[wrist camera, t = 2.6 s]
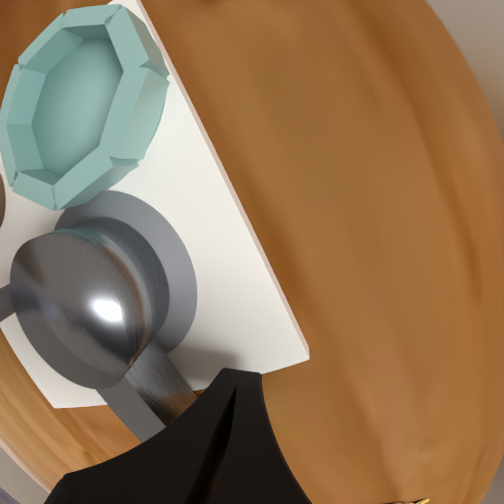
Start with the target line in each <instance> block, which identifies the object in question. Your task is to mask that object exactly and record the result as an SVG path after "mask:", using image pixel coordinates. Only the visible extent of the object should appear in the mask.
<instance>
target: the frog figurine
mask: <svg viewBox="0 0 504 504" xmlns="http://www.w3.org/2000/svg"><path fill="white" fill-rule="evenodd" d="M429 500H430V499H428V498H427V499H424V500H420V501H419V502H417V503H412V502H405V503H403V502H397V503H393V504H425V503H426V502H428V501H429Z"/></svg>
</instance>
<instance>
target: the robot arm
mask: <svg viewBox="0 0 504 504" xmlns="http://www.w3.org/2000/svg"><path fill="white" fill-rule="evenodd" d="M0 504H20V503H19V502H17V501H16V500H15V499H14V498H12V497H11V496H10V495H9V494H8V493H6V492H5V491H4V490H3V489H2V488H1V487H0ZM44 504H312V503H311V501H310V500H309V499H308V497H307V496H306V494H305V493H304V491H303V490H302V488H301V487H300V485H299V483H298V482H297V480H296V479H295V477H294V476H293V474H292V472H291V470H290V468H289V466H288V465H287V463H286V461H285V459H284V456H283V454H282V452H281V450H280V448H279V445H278V443H277V441H276V438H275V435H274V433H273V430H272V427H271V424H270V421H269V417H268V414H267V410H266V406H265V402H264V396H263V390H262V375H261V374H260V373H259V372H252V371H244V370H237V369H231V368H223V369H221V370H220V372H219V373H218V375H217V376H216V377H215V379H214V380H213V381H212V382H211V384H210V385H209V386H208V387H207V388H206V390H205V391H204V392H203V393H202V394H201V395H200V396H199V397H198V398H197V399H196V400H195V401H194V402H193V403H192V404H191V405H190V406H189V407H188V408H187V409H186V410H185V411H184V412H183V413H182V414H181V415H180V416H178V417H177V418H176V419H175V420H174V421H173V422H171V423H170V424H169V425H168V426H166V427H165V428H164V429H162V430H161V431H160V432H158V433H157V434H155V435H154V436H152V437H151V438H149V439H148V440H146V441H145V442H143V443H141V444H140V445H138V446H136V447H134V448H133V449H131V450H129V451H127V452H125V453H123V454H121V455H118V456H116V457H114V458H112V459H110V460H107V461H105V462H103V463H100V464H97V465H94V466H91V467H88V468H85V469H82V470H78V471H75V472H71V473H67V474H65V475H64V476H63V478H62V479H61V480H60V481H59V482H58V483H57V484H56V486H55V487H54V489H53V490H52V492H51V493H50V495H49V496H48V498H47V500H46V501H45V502H44Z"/></svg>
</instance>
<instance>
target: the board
mask: <svg viewBox="0 0 504 504" xmlns="http://www.w3.org/2000/svg"><path fill="white" fill-rule="evenodd" d="M111 4H121V5H122V6H123V7H124V6H125V7H126V8H128V9H129V10H130V11H131V12H132V13H134V14H135V15H136V16H137V17H138V18H139V19H141V20H142V21H143V22H144V23H145V24H146V26H147V28H148V30H149V32H150V34H151V36H152V38H153V40H154V41H155V42H156V44H157V45H158V47H159V48H160V50H161V53H162V55H163V58H164V62H165V65H166V67H167V69H168V71H169V73H170V75H168V76H167V80H168V81H169V82H170V84H169V86H168V89H167V91H166V99H165V105H164V110H163V113H162V116H161V120H160V123H159V125H158V128H157V130H156V133H155V135H154V137H153V139H152V141H151V143H150V145H149V147H148V148H147V150H146V153H145V157H144V159H140V160H139V162H138V165H139V166H138V167H137V168H135V169H134V170H132V171H131V172H129V173H128V174H127V175H126V176H125V177H124V178H123V179H122V180H120V181H119V182H118V183H117V184H115V185H114V186H112V187H111V188H109V189H107V190H106V191H102V192H101V193H99V194H98V195H97V196H95V197H94V198H93V199H91V200H90V201H89V202H87V203H86V204H82V205H78V206H74V207H70V208H66V209H62V210H56V211H52V210H50V209H47V208H45V207H43V206H41V205H39V204H37V203H35V202H33V201H31V200H29V199H27V198H25V197H23V196H21V195H18V194H16V193H14V192H12V189H13V187H9V184H8V181H7V177H6V174H5V170H4V166H3V162H2V158H1V154H0V173H1V176H2V179H3V182H4V187H5V196H6V208H5V216H4V220H3V223H2V226H1V227H0V328H1V330H2V332H3V333H4V335H5V337H6V339H7V340H8V342H9V344H10V346H11V347H12V349H13V351H14V352H15V354H16V355H17V357H18V359H19V360H20V362H21V363H22V365H23V366H24V368H25V369H26V371H27V372H28V374H29V375H30V377H31V378H32V379H33V381H34V382H35V384H36V385H37V386H38V388H39V389H40V391H41V392H42V393H43V395H44V396H45V397H46V398H47V400H48V401H49V402H50V404H51V405H52V406H53V407H54V408H70V407H85V406H97V405H107V403H106V402H105V401H104V400H103V398H102V397H101V396H100V395H99V393H98V392H97V391H96V389H90V388H86V387H82V386H80V385H77V384H75V383H73V382H71V381H69V380H67V379H66V378H64V377H63V376H61V375H60V374H59V373H57V372H56V371H55V370H54V369H52V368H51V367H50V366H49V365H48V364H47V363H46V362H45V361H44V360H43V359H42V358H41V357H40V355H39V354H38V353H37V352H36V350H35V349H34V348H33V346H32V345H31V343H30V342H29V340H28V339H27V337H26V335H25V333H24V332H23V330H22V328H21V326H20V323H19V321H18V318H17V316H16V313H15V310H14V306H13V303H12V298H11V291H10V270H11V265H12V261H13V258H14V256H15V254H16V252H17V250H18V249H19V248H20V247H21V245H23V244H24V243H25V242H26V241H28V240H30V239H33V238H35V237H38V236H41V235H44V234H47V233H49V232H52V231H55V230H58V229H61V228H64V227H67V226H70V225H73V224H76V223H79V222H82V221H86V220H89V219H92V218H98V217H106V218H112V219H115V220H118V221H121V222H123V223H125V224H127V225H129V226H130V227H132V228H133V229H135V230H136V231H137V232H138V233H139V234H141V235H142V236H143V237H144V238H145V239H146V241H147V242H148V243H149V244H150V245H151V247H152V248H153V249H154V251H155V252H156V254H157V256H158V257H159V259H160V261H161V263H162V266H163V268H164V270H165V273H166V276H167V280H168V285H169V293H170V305H169V311H168V315H167V318H166V320H165V322H164V324H163V326H162V327H161V329H160V330H159V331H158V333H157V334H156V335H155V337H156V339H157V340H158V342H159V343H160V345H161V347H162V348H163V350H164V351H165V353H166V354H167V356H168V357H169V359H170V360H171V361H172V363H173V364H174V366H175V367H176V369H177V370H178V372H179V373H180V374H181V376H182V377H183V379H184V380H185V381H186V383H187V384H188V385H189V387H190V388H191V390H192V391H196V390H201V389H205V388H207V387H208V386H209V385H210V384H211V382H212V381H213V380H214V379H215V377H216V376H217V375H218V373H219V372H220V370H221V369H223V368H231V369H237V370H244V371H252V372H259V373H260V374H264V373H268V372H271V371H275V370H278V369H281V368H284V367H288V366H291V365H294V364H297V363H300V362H303V361H306V360H309V347H308V345H307V343H306V340H305V338H304V336H303V334H302V332H301V330H300V327H299V325H298V323H297V321H296V319H295V317H294V315H293V312H292V310H291V308H290V306H289V304H288V302H287V300H286V297H285V295H284V293H283V291H282V289H281V287H280V285H279V283H278V280H277V278H276V276H275V274H274V272H273V270H272V268H271V266H270V263H269V261H268V259H267V257H266V255H265V253H264V251H263V249H262V247H261V244H260V242H259V240H258V238H257V236H256V234H255V232H254V230H253V228H252V226H251V223H250V221H249V219H248V217H247V215H246V213H245V211H244V209H243V207H242V205H241V203H240V200H239V198H238V196H237V194H236V192H235V190H234V188H233V186H232V184H231V182H230V180H229V178H228V176H227V174H226V171H225V169H224V167H223V165H222V163H221V161H220V159H219V157H218V155H217V153H216V151H215V149H214V147H213V145H212V143H211V141H210V139H209V137H208V135H207V132H206V130H205V128H204V126H203V124H202V122H201V120H200V118H199V116H198V114H197V112H196V110H195V108H194V106H193V104H192V102H191V100H190V98H189V96H188V94H187V92H186V90H185V88H184V86H183V84H182V82H181V80H180V78H179V76H178V74H177V72H176V70H175V68H174V66H173V64H172V62H171V60H170V58H169V56H168V54H167V52H166V50H165V48H164V46H163V44H162V42H161V40H160V38H159V36H158V34H157V32H156V30H155V28H154V26H153V24H152V22H151V20H150V18H149V16H148V15H147V13H146V11H145V9H144V7H143V5H142V3H141V1H140V0H113V1H111V2H110V3H109V4H107V5H111Z"/></svg>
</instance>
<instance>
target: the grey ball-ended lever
mask: <svg viewBox="0 0 504 504" xmlns="http://www.w3.org/2000/svg"><path fill="white" fill-rule="evenodd" d="M10 291H11V298H12V303H13V306H14V310H15V313H16V316H17V318H18V321H19V323H20V326H21V328H22V330H23V332H24V333H25V335H26V337H27V339H28V340H29V342H30V343H31V345H32V346H33V348H34V349H35V350H36V352H37V353H38V354H39V355H40V357H41V358H42V359H43V360H44V361H45V362H46V363H47V364H48V365H49V366H50V367H51V368H52V369H54V370H55V371H56V372H57V373H59V374H60V375H61V376H63V377H64V378H66V379H67V380H69V381H71V382H73V383H75V384H77V385H80V386H82V387H86V388H90V389H96V391H97V392H98V393H99V395H100V396H101V397H102V398H103V400H104V401H105V402H106V403H107V404H108V406H109V407H110V408H111V409H112V410H113V412H114V413H115V414H116V415H117V416H118V417H119V418H120V420H121V421H122V422H123V423H124V424H125V425H126V426H127V427H128V428H129V429H130V431H131V432H132V433H133V434H134V435H135V436H136V437H137V438H138V439H139V440H140V441H141V442H142V443H143V442H145V441H146V440H148V439H149V438H151V437H152V436H154V435H155V434H157V433H158V432H160V431H161V430H162V429H164V428H165V427H166V426H168V425H169V424H170V423H171V422H173V421H174V420H175V419H176V418H177V417H178V416H180V415H181V414H182V413H183V412H184V411H185V410H186V409H187V408H188V407H189V406H190V405H191V404H192V403H193V402H194V401H195V400H196V399H197V396H196V395H195V394H194V392H193V391H192V390H191V388H190V387H189V385H188V384H187V383H186V381H185V380H184V379H183V377H182V376H181V374H180V373H179V372H178V370H177V369H176V367H175V366H174V364H173V363H172V361H171V360H170V359H169V357H168V356H167V354H166V353H165V351H164V350H163V348H162V347H161V345H160V343H159V342H158V340H157V339H156V337H155V335H156V334H157V333H158V331H159V330H160V329H161V327H162V326H163V324H164V322H165V320H166V318H167V315H168V311H169V305H170V293H169V285H168V280H167V276H166V273H165V270H164V268H163V266H162V263H161V261H160V259H159V257H158V256H157V254H156V252H155V251H154V249H153V248H152V247H151V245H150V244H149V243H148V242H147V241H146V239H145V238H144V237H143V236H142V235H141V234H139V233H138V232H137V231H136V230H135V229H133V228H132V227H130V226H129V225H127V224H125V223H123V222H121V221H118V220H115V219H112V218H106V217H98V218H92V219H89V220H86V221H82V222H79V223H76V224H73V225H70V226H67V227H64V228H61V229H58V230H55V231H52V232H49V233H47V234H44V235H41V236H38V237H35V238H33V239H30V240H28V241H26V242H25V243H24V244H23V245H21V247H20V248H19V249H18V250H17V252H16V254H15V256H14V258H13V261H12V265H11V270H10Z"/></svg>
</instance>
